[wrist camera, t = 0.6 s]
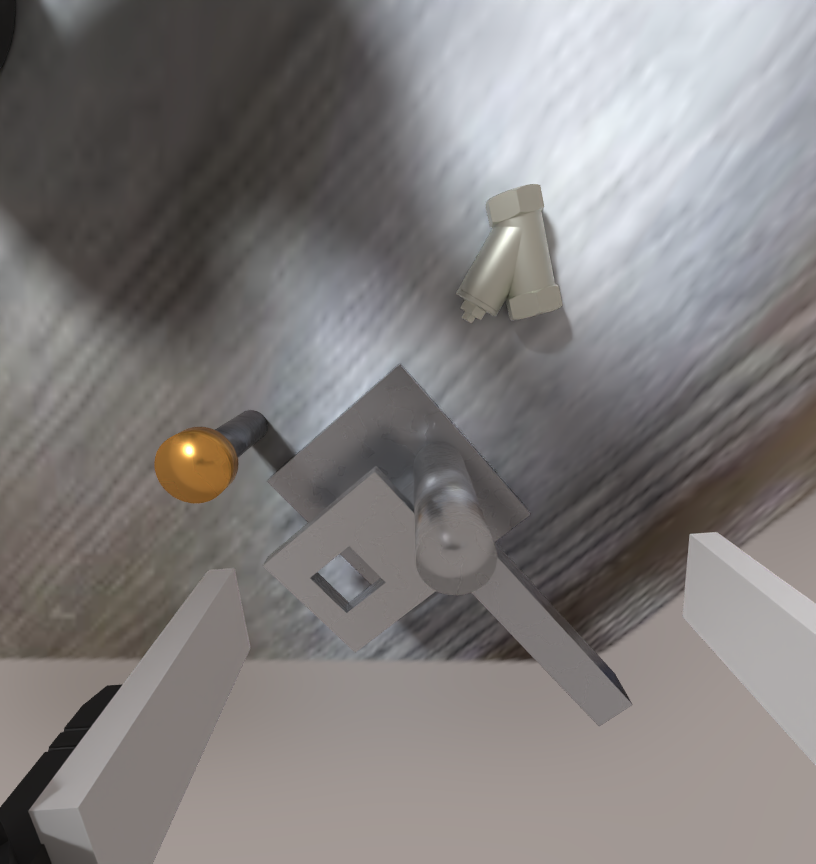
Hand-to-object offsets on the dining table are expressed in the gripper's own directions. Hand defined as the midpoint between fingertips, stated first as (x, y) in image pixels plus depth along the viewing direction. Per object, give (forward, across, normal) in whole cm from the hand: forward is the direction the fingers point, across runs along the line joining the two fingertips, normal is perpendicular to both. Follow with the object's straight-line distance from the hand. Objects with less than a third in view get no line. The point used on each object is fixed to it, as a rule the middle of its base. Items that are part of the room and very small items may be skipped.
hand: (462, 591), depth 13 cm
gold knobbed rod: (+24, -14, 0) cm, 27 cm away
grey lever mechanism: (+23, -1, -10) cm, 25 cm away
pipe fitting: (+24, +6, +10) cm, 27 cm away
